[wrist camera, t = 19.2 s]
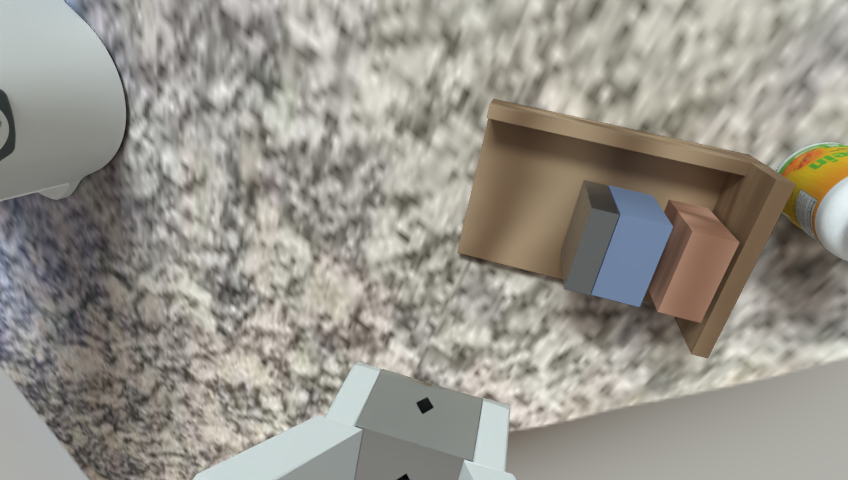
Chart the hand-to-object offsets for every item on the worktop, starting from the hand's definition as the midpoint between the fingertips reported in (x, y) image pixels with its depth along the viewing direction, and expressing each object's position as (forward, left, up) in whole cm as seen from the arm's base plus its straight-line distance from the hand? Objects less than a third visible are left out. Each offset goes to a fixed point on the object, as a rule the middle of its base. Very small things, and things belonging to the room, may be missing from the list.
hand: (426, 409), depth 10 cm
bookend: (+7, -5, -28) cm, 29 cm away
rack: (+7, -4, -29) cm, 30 cm away
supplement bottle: (+20, +1, -29) cm, 35 cm away
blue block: (+9, -5, -28) cm, 30 cm away
